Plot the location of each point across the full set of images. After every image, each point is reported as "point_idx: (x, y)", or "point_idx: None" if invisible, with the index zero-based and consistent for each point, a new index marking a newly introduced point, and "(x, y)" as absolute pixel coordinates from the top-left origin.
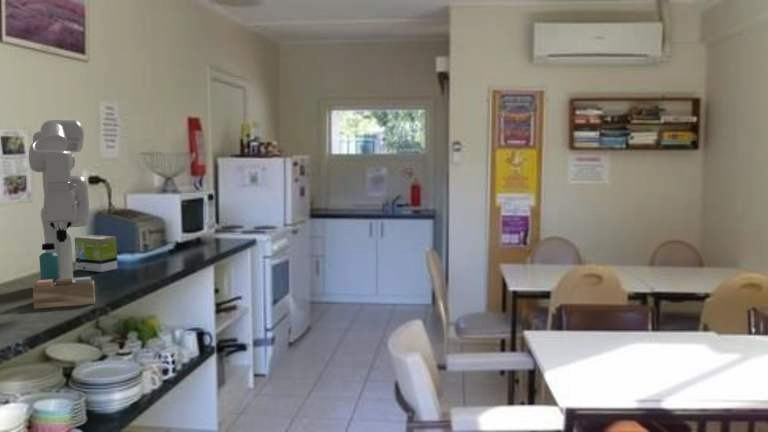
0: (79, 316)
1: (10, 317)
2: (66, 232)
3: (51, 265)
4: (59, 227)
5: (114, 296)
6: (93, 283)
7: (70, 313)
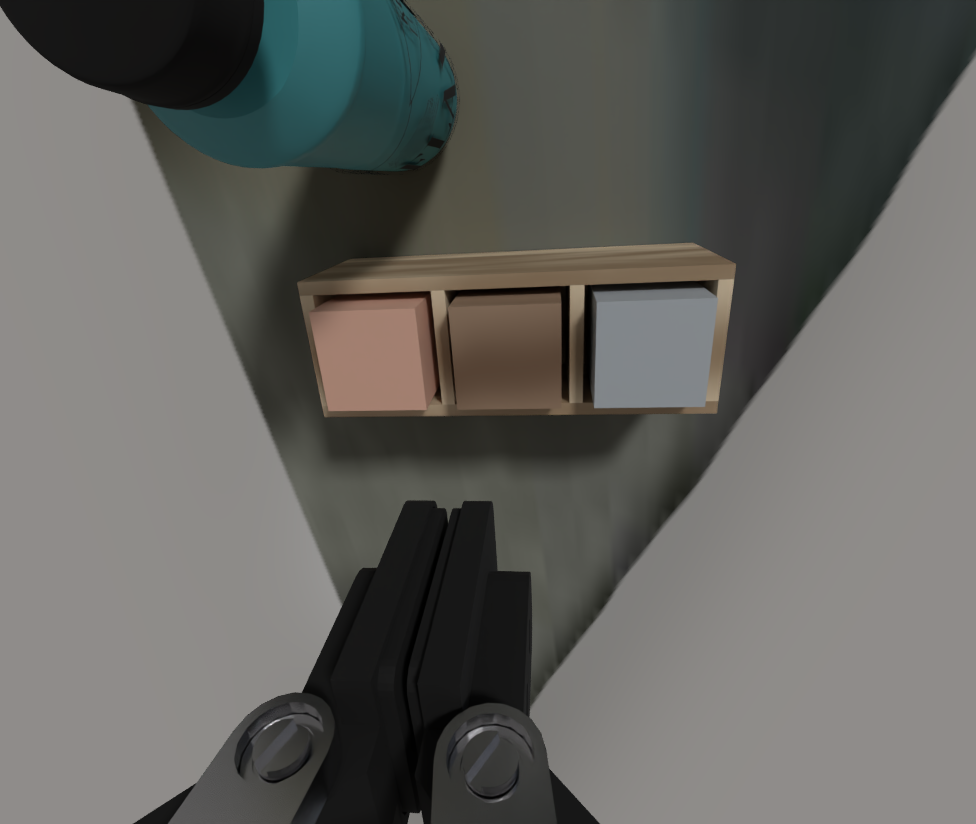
0: (609, 599)
1: (320, 517)
2: (525, 668)
3: (338, 158)
4: (336, 814)
5: (836, 144)
6: (719, 374)
7: (567, 535)
